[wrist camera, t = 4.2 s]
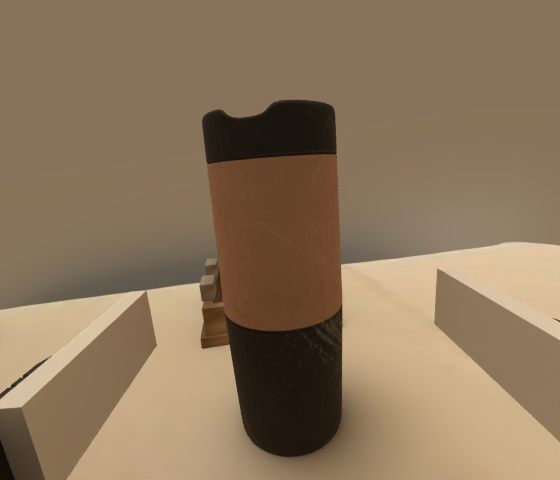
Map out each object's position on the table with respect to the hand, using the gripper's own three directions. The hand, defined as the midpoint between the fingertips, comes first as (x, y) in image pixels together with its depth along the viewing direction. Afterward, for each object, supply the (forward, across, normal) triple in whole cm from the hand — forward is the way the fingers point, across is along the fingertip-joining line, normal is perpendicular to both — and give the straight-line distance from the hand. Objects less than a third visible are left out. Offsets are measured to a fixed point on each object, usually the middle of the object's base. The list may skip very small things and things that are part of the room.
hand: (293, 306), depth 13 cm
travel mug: (+6, 0, -11) cm, 12 cm away
